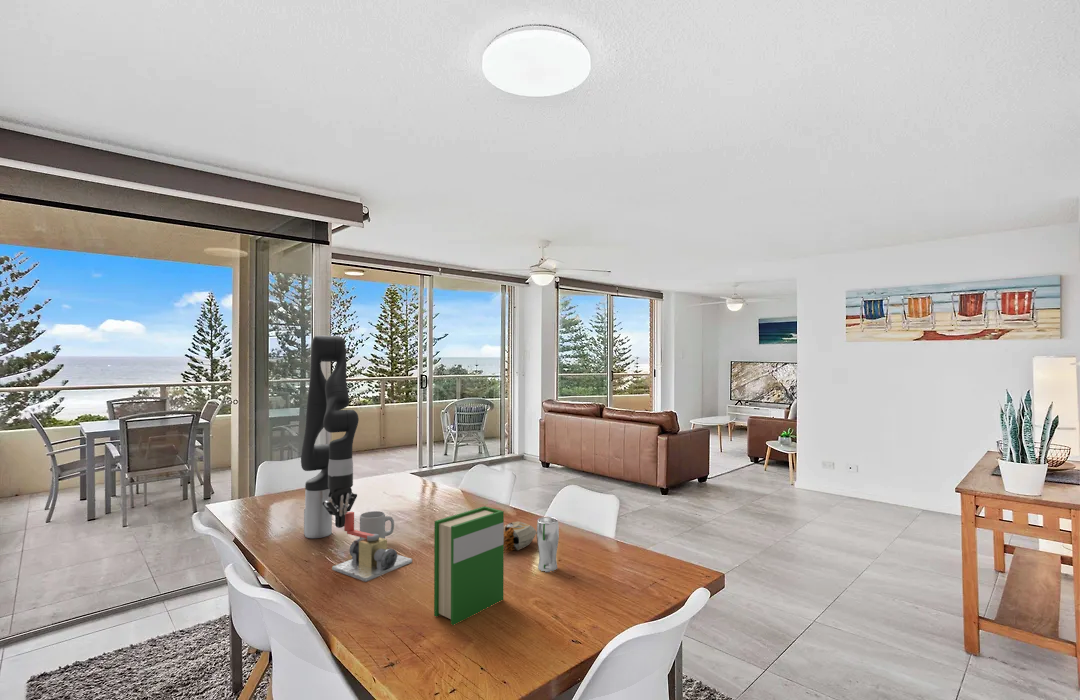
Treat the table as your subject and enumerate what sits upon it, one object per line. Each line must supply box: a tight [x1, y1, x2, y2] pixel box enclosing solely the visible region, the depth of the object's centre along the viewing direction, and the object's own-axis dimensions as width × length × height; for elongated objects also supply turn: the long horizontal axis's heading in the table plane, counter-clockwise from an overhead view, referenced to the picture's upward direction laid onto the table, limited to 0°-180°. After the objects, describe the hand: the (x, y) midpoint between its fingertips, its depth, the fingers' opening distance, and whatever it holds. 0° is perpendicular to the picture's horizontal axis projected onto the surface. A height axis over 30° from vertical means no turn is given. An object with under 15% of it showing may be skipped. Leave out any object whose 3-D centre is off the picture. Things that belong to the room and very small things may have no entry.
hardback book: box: [433, 505, 505, 626], centre depth 138 cm, size 18×7×24 cm, turn 140°
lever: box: [343, 511, 379, 541], centre depth 168 cm, size 14×4×7 cm, turn 60°
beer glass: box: [536, 516, 560, 573], centre depth 163 cm, size 7×7×15 cm
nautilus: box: [504, 521, 537, 556], centre depth 181 cm, size 8×22×15 cm
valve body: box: [331, 537, 413, 583], centre depth 165 cm, size 16×18×8 cm
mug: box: [359, 510, 395, 540], centre depth 184 cm, size 12×8×11 cm
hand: (340, 527), depth 167 cm, fingers closed
